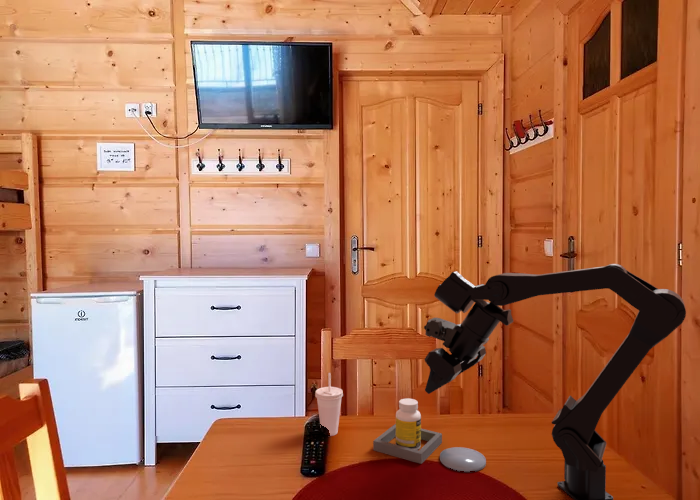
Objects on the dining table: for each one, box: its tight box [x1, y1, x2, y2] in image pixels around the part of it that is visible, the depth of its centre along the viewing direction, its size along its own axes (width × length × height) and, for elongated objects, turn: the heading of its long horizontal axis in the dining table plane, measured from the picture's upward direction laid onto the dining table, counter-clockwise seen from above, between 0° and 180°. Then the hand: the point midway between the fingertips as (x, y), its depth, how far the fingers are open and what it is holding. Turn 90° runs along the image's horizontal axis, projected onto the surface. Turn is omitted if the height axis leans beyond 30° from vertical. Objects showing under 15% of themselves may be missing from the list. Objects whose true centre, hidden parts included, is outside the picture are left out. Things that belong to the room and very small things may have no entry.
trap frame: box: [372, 423, 443, 465], centre depth 99 cm, size 11×11×2 cm
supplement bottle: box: [395, 397, 422, 451], centre depth 99 cm, size 5×5×10 cm
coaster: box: [439, 446, 487, 473], centre depth 93 cm, size 9×9×1 cm
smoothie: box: [314, 372, 344, 437], centre depth 106 cm, size 6×6×14 cm
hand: (436, 385), depth 96 cm, fingers open, 9 cm apart
